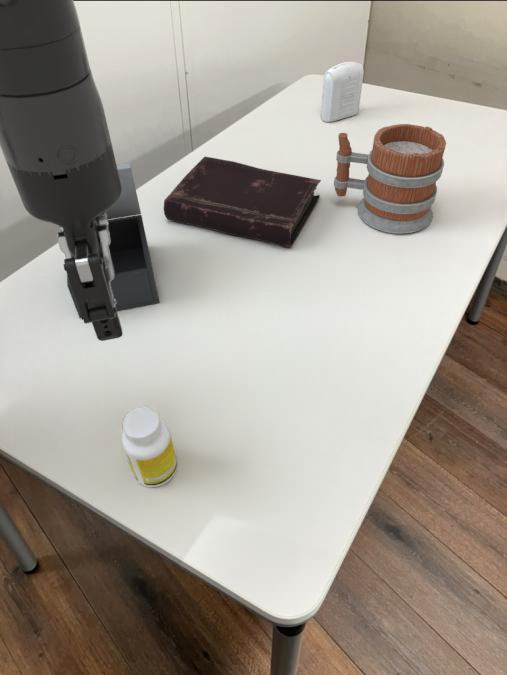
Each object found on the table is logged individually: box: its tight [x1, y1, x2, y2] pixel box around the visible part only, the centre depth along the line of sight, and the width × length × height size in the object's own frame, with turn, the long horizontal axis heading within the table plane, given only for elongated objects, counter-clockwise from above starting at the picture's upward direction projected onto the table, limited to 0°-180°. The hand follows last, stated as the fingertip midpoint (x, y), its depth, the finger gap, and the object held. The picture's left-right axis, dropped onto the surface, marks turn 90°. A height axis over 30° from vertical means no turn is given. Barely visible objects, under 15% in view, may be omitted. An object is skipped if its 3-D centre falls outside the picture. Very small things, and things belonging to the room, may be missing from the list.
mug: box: [333, 123, 447, 235], centre depth 93 cm, size 14×19×15 cm
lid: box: [106, 162, 142, 220], centre depth 78 cm, size 16×13×5 cm
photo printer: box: [320, 61, 365, 123], centre depth 123 cm, size 10×4×12 cm, turn 122°
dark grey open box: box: [66, 214, 160, 319], centre depth 84 cm, size 16×13×7 cm
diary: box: [163, 156, 322, 249], centre depth 98 cm, size 19×25×5 cm
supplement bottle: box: [121, 406, 178, 488], centre depth 58 cm, size 5×5×10 cm
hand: (107, 305), depth 49 cm, fingers open, 8 cm apart
